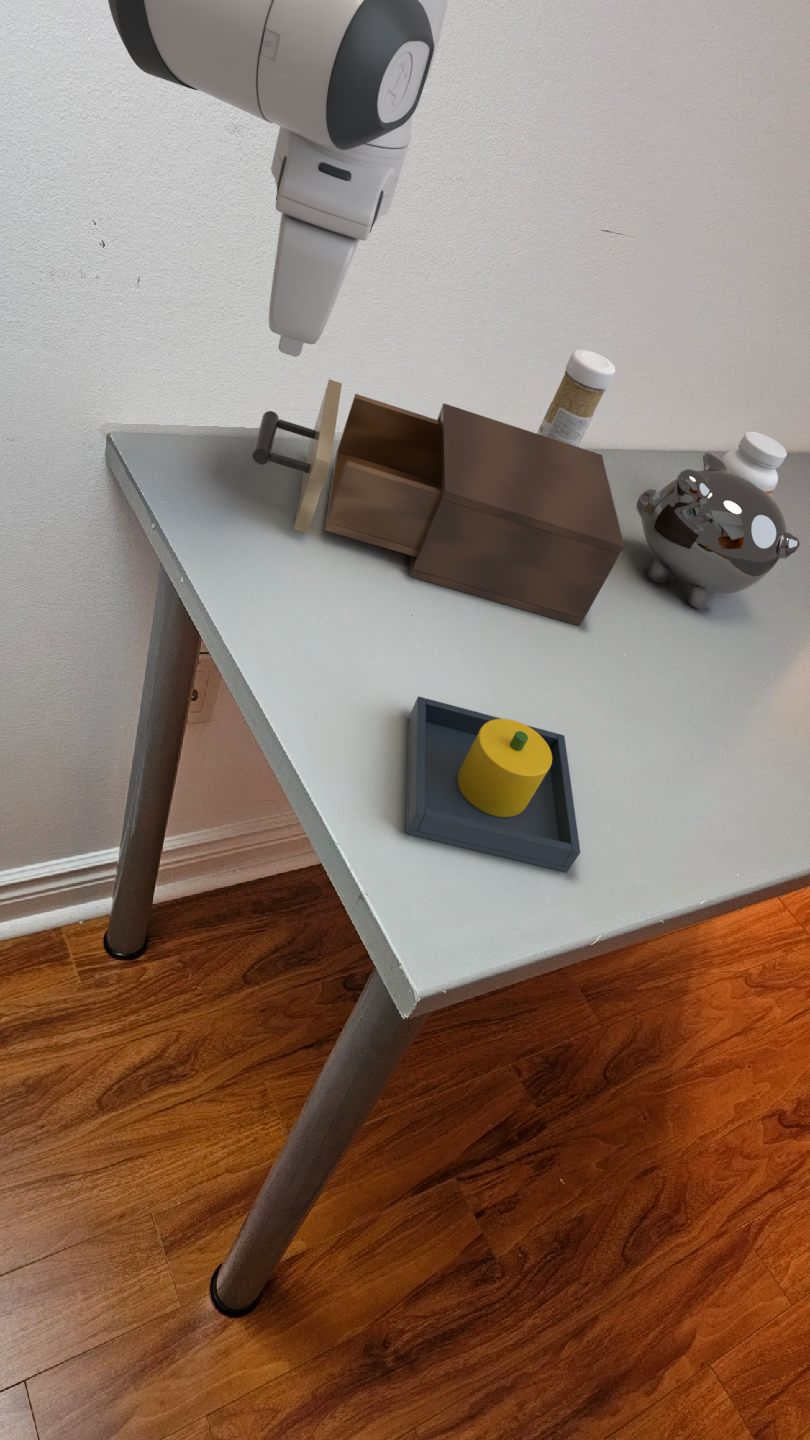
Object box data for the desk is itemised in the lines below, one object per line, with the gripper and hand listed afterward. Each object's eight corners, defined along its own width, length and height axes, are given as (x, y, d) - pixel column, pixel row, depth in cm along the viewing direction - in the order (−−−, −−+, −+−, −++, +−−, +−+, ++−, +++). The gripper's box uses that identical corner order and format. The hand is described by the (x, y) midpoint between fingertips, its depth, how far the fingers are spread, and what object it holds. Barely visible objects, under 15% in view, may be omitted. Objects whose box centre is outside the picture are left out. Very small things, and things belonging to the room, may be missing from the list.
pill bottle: (736, 558, 111) (794, 468, 104) (682, 533, 111) (737, 441, 104) (738, 532, 116) (794, 445, 109) (687, 509, 116) (740, 420, 109)
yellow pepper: (457, 807, 70) (486, 753, 66) (456, 753, 74) (483, 699, 70) (530, 825, 71) (562, 773, 67) (525, 771, 75) (555, 719, 71)
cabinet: (409, 576, 89) (444, 490, 83) (412, 484, 100) (443, 402, 95) (580, 626, 92) (624, 546, 86) (563, 530, 103) (602, 454, 98)
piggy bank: (636, 524, 109) (690, 426, 102) (762, 602, 106) (828, 506, 99) (594, 559, 101) (650, 455, 94) (730, 644, 98) (799, 543, 90)
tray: (405, 833, 67) (416, 812, 66) (408, 716, 75) (417, 695, 74) (567, 872, 69) (580, 852, 68) (552, 754, 78) (564, 734, 76)
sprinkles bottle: (524, 461, 112) (578, 342, 103) (563, 479, 111) (620, 362, 103) (514, 477, 108) (569, 356, 100) (555, 496, 108) (613, 376, 99)
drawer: (237, 512, 85) (256, 439, 81) (259, 430, 96) (276, 361, 92) (460, 578, 89) (489, 511, 85) (457, 492, 100) (483, 428, 96)
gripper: (307, 114, 82) (267, 287, 91) (276, 192, 67) (232, 390, 75) (385, 142, 83) (338, 310, 92) (372, 225, 68) (317, 416, 77)
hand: (290, 347), depth 84 cm, fingers closed
